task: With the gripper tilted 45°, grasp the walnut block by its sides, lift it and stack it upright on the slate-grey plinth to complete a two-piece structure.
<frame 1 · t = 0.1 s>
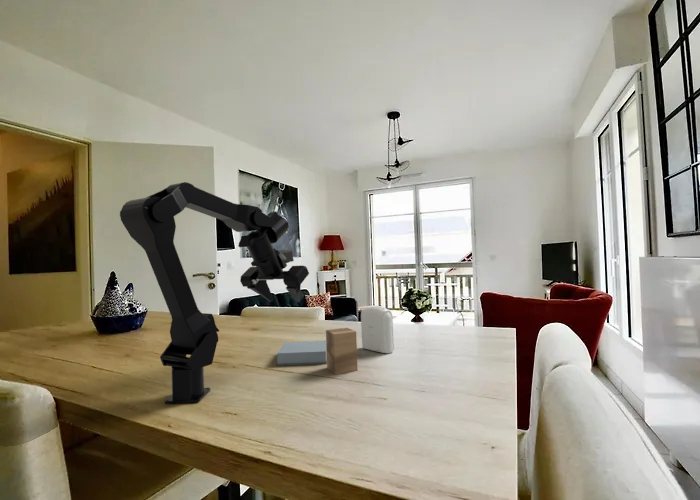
hand: (285, 301, 99), 15 cm above the table, tool tilted 35°, fingers open, 9 cm apart
walnut block: (342, 369, 86), on the table
photo printer: (377, 350, 102), on the table
plinth: (304, 357, 97), on the table
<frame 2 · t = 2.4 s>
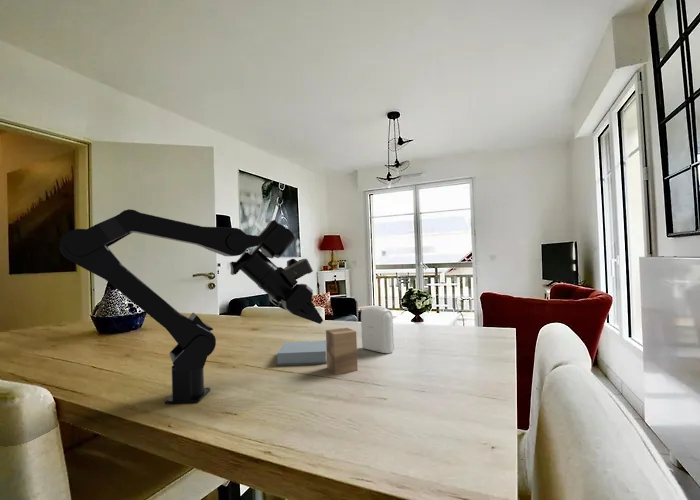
hand: (315, 319, 84), 12 cm above the table, tool tilted 45°, fingers open, 9 cm apart
nothing on the table moved.
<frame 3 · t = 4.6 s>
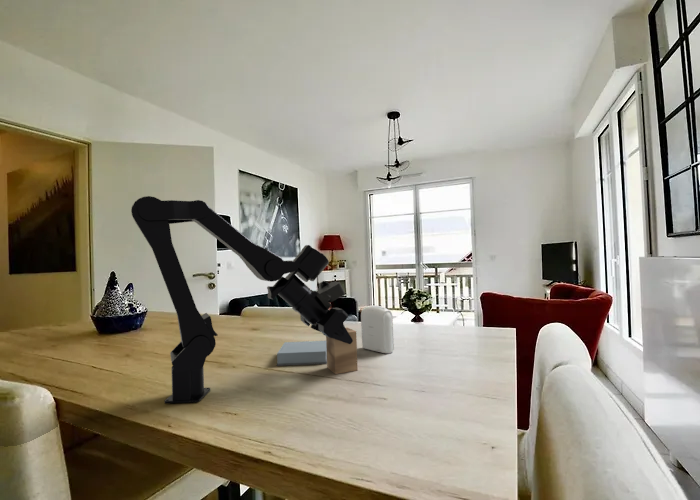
hand: (346, 340, 87), 7 cm above the table, tool tilted 45°, fingers closed on walnut block, 5 cm apart
walnut block: (342, 368, 86), on the table, touching gripper
everything else where it was.
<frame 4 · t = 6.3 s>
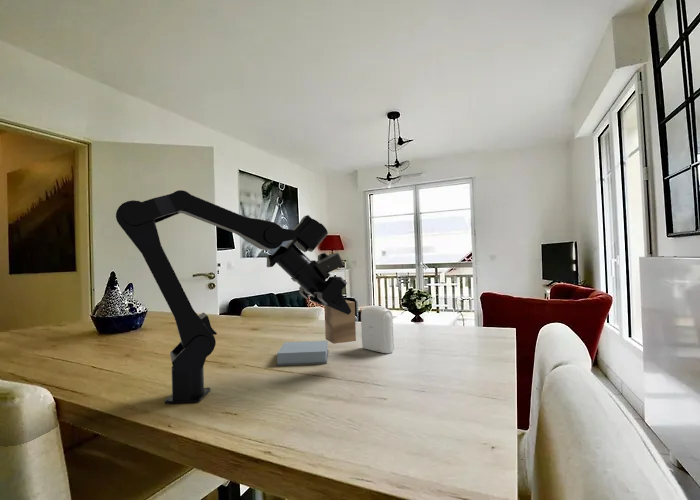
hand: (345, 311, 87), 13 cm above the table, tool tilted 45°, fingers closed on walnut block, 5 cm apart
walnut block: (340, 340, 86), point 7 cm above the table, touching gripper
everything else where it was.
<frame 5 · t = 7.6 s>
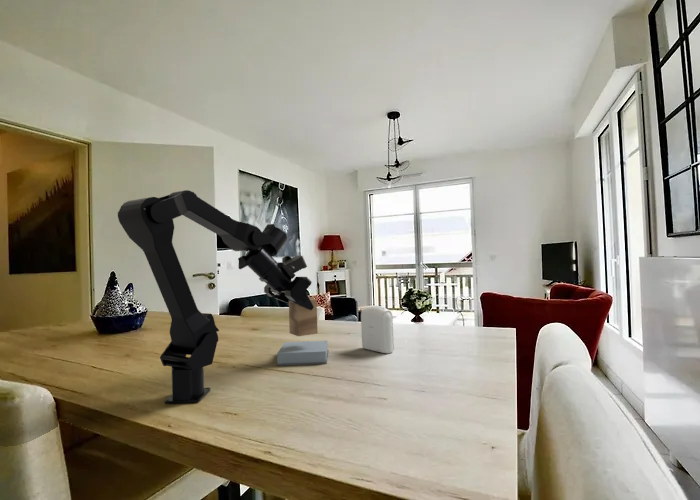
hand: (307, 307, 97), 13 cm above the table, tool tilted 45°, fingers closed on walnut block, 5 cm apart
walnut block: (303, 333, 97), point 7 cm above the table, touching gripper
everything else where it was.
when the fingers open (11 cm above the table, at t = 8.4 s): walnut block drops 1 cm, resting on plinth.
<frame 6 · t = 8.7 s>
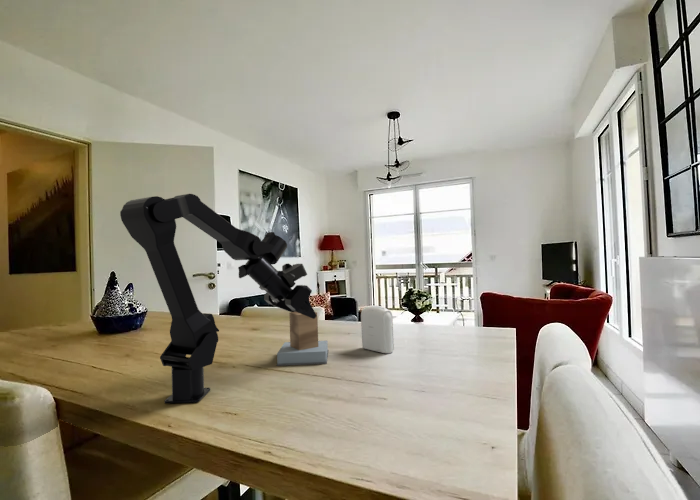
hand: (307, 315, 98), 11 cm above the table, tool tilted 45°, fingers open, 8 cm apart
walnut block: (304, 346, 97), point 3 cm above the table, touching plinth
everything else where it was.
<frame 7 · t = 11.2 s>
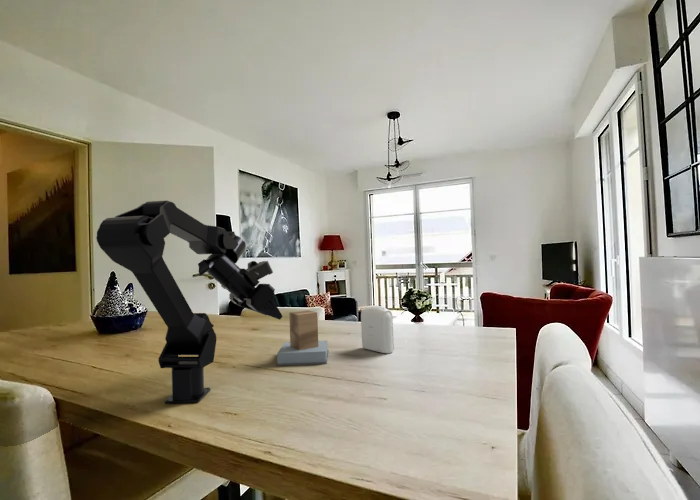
hand: (274, 315, 92), 12 cm above the table, tool tilted 45°, fingers open, 9 cm apart
nothing on the table moved.
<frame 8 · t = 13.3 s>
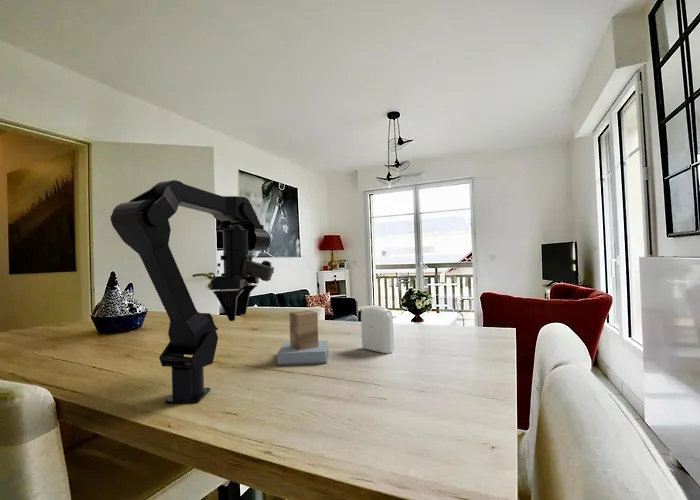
hand: (238, 317, 86), 13 cm above the table, tool pointing down, fingers open, 9 cm apart
nothing on the table moved.
at the end: walnut block inside the target area on the plinth (0.1 cm from its centre), point 3.0 cm above the plinth's base; walnut block tilted 0°; the gripper is holding nothing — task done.
